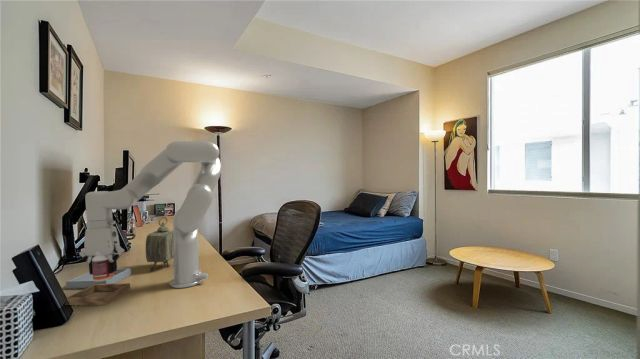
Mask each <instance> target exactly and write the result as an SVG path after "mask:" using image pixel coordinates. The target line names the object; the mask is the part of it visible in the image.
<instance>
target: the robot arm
mask: <svg viewBox="0 0 640 359" xmlns="http://www.w3.org/2000/svg"><path fill="white" fill-rule="evenodd" d="M184 163H199V164H200V169H199V172H198V173H197V176H196V178H195V179H194V181H193V183H192V185H191V187H190V188H189V189H188V190H187V193H186V197H185V199H184V200H183V203H181V206H180V208H178V210H176V211H175V213H174V215H173V217H172V225H173V226H172V228H173V230H172V231H173V236H174V258H173V279H171V280H170V281H169V287H172V288H175V289H184V288H190V287H194V286H197V285H198V284H199V285H200V284H201V283H202V282H203V280H208V279H209V274H208V272H202V269H200V268H199V267H200V263H199V259H200V257H199V252H200V251H199V249H200V248H199V245H200V244H199V243H200V242H199V238H200V236H199V227H200V225H201V224H202V222H203V220H204V218H205V216H206V214H207V212H208V211H209V209H210V207H211V205H212V202H213V199H214V193H213V191H214V190H215V187H216V186H217V183H218V181H219V179H220V177H221V174H222V162H221V160H220V149H219V147H218V145H217V144H216V143H214V142H212V141H205V140H203V141H199V140H198V141H197V140H196V141H194V140H193V141H190V140H175V141H171V142H170V143H168V144H167V145H166V147H165V149H164V150H161V152H160V153H158V154H157V155H156V156H155V157H153V159H151V160H150V161H149V162H147V163H146V164H145V165H144V166H143V167H142V168H141V170H140V172H139V173H138V174H137V175H136V176H135V177H134V178H133V179H132V180H131V181H129V182H128V183H126V185H125V186H124V187H122V188H121V189H117V190H112V191H108V190H102V191H100V190H99V191H98V190H97V191H89V192H87V193H86V194H85V198H84V199H85V212H86V226H87V228H86V229H85V233H84V239H83V240H84V241H83V242H84V244H83V245H84V248H82V250H81V251H79V256H80V257H82V259H83V260H84V261H86V264H88V271H89V272H90V274H93V270H92V258H93V257H95V256H96V255H95V253H96V252H99V253H100V254H101V255H107V257H108V258H109V260H110V262H109V263H108V265H109V273H113V272H115V271H116V270H117V269H118V264H117V261H118V260H119V258H120V257H122V255H123V253H124V252H125V249H124V248H122V246H120V245H121V243H120V239H119V238H120V237H119V233H118V230H117V227H116V226H114V225H115V224H116V223H117V222H116V220H114V218H113V210H120V211H121V210H127V209H129V208H131V207H132V206H134V205H135V204H136V203H137V202H138V201H140V200H141V199H142V198H143V197H144V196H145V195H147V193H149V192H150V191H151V190H152V189H153V188H155V187H156V186H158V185H160V184H161V183H162V182H163V181H164V180H165V179H166V178H168V176H169V175H171V174H172V173H173V172H175V170H177V168H179V167H180V166H181V165H183V164H184ZM112 256H113V257H112Z"/></svg>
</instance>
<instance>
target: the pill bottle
mask: <svg viewBox="0 0 640 359" xmlns="http://www.w3.org/2000/svg"><path fill="white" fill-rule="evenodd" d="M95 255H96V256H95V257H93V258H92V270H93V281H95V282H101V281H106V280H109V279H112V278H113V277H114V272H113V273H109V265H108V263H109V262H110V260H109V258H108V257H107V255H101V254H100V253H99V252H96V253H95ZM112 257H113V256H112Z"/></svg>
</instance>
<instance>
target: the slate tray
mask: <svg viewBox="0 0 640 359" xmlns="http://www.w3.org/2000/svg"><path fill="white" fill-rule="evenodd" d="M130 276H132V269H131V268H117V270H116V271H115V272H114V277H113V278H112V279H109V280H106V281H101V282H95V281H93V274H90V271H89V272H86V273H84V274H81V275H79V276H76V277H73V278H72V279H68V280H67V281H65V289H66V290H69V289H70V290H73V289H75V290H77V289H78V290H79V289H80V290H81V289H82V290H84V289H86V288H88V287H90V286H92V285H94V284H118V283H119V282H120V281H123V280H124V279H126V278H127V277H130Z"/></svg>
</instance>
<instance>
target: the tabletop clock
mask: <svg viewBox="0 0 640 359" xmlns="http://www.w3.org/2000/svg"><path fill="white" fill-rule="evenodd" d="M162 219H165V221H166V222H161V220H162ZM160 222H161V223H160ZM167 223H168V218H167V217H166V216H162V217H160V218H159V219H158V225H159V227H158V228H157V230H155V231H152V232H150V233H149V234H147V235H146V239H145V259H146V262H147V263H153V265H152V266H151V267H150V268H149V270H150V271H153V270H154V269H155V266H156V264H158V263H163V264H164V265H165V267H166V268H170V266H171V265H170V263H168V261H171V260H174V236H173V230H170V229H169V227H168V226H166V225H167Z"/></svg>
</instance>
